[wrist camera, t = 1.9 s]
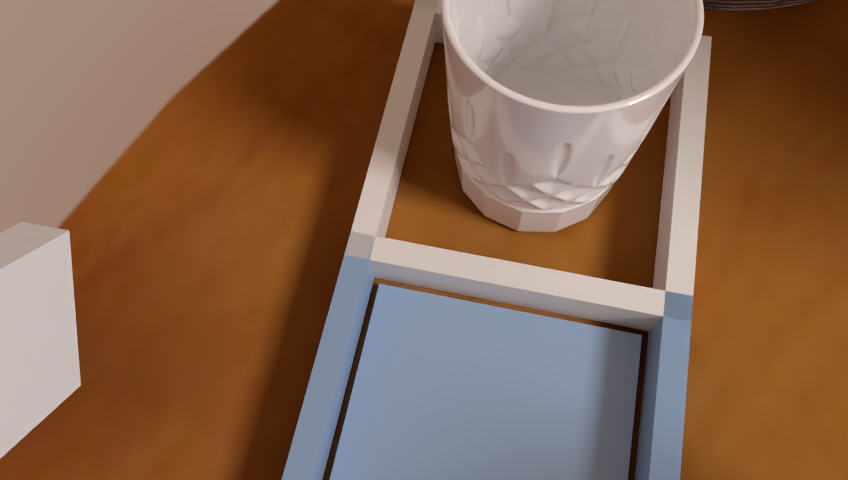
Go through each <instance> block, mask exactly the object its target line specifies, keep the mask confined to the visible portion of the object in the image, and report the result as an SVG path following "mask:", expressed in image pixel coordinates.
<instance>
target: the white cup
mask: <svg viewBox="0 0 848 480" xmlns="http://www.w3.org/2000/svg"><path fill="white" fill-rule="evenodd" d="M441 11H442V24H443V37H444V51H445V66H446V82H447V97H448V108H449V116H450V124H451V133H452V140H453V145H454V147H455V161H456V165H457V169H458V173H459V178H460V182H461V186H462V190H463V192H464V193H465V194H466V195H467V196H468V197H469V199H470V200H471V201H472V202H473V203H474V204H475V206H476V207H477V208H478V209H479V210H480V211H481V212H482V214H483V215H484V216H485V217H487V218H490V219H492V220H494V221H496V222H498V223H500V224H503V225H505V226H507V227H509V228H511V229H513V230H516V231H522V232H556V231H558V230H561V229H563V228H565V227H568V226H570V225H573V224H575V223H577V222H580V221H582V220H584V219H587V218H588V217H589V215H590V214H591V213H592V212H593V211H594V209H595V208H596V207H597V206H598V205H599V204H600V202H601V201H602V200H603V199H604V198H605V196H606V195H607V194H608V193H609V191H610V189H611V188H612V186H613V184H614V182H615V181H616V180H618V178H619V177H620V176H621V174H622V173H623V171H624V170H625V168H626V167H627V165H628V163H629V162H630V160H631V159H632V157H633V155H634V154H635V152H636V151H637V149H638V148H639V146H640V145H641V143H642V141H643V140H644V139H645V137H646V136H647V134H648V132H649V131H650V129H651V127H652V126H653V124H654V122H655V120H656V119H657V117H658V115H659V114H660V112H661V110H662V109H663V107H664V105H665V103H666V102H667V100H668V98H669V97H670V95H671V93H672V91H673V90H674V88H675V86H676V85H677V83H678V81H679V80H680V78H681V76H682V75H683V73H684V71H685V70H686V68H687V66H688V65H689V63H690V61H691V60H692V58H693V56H694V54H695V52H696V50H697V48H698V46H699V43H700V40H701V36H702V32H703V25H704V6H703V0H441Z"/></svg>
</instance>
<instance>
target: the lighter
mask: <svg viewBox="0 0 848 480" xmlns="http://www.w3.org/2000/svg"><path fill="white" fill-rule="evenodd" d="M811 1H815V0H703V6H704V9H715V10H731V11H734V10H764V9H772V8H779V7H786V6H793V5H799V4H803V3H807V2H811Z"/></svg>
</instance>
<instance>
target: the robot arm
mask: <svg viewBox="0 0 848 480" xmlns="http://www.w3.org/2000/svg"><path fill="white" fill-rule="evenodd" d="M80 386H81V381H80V368H79V355H78V341H77V328H76V315H75V301H74V288H73V275H72V261H71V248H70V235H69V230H64V229H58V228H53V227H47V226H42V225H37V224H31V223H26V222H20V223H19V224H16V225H14V226H12V227H10V228H8V229H6V230H4V231H2V232H0V458H1V457H3V456H4V455H5V454H6V453H7V452H8V451H9V450H10V449H11V448H12V447H14V446H15V445H16V444H17V443H18V442H19V441H20V440H21V439H22V438H23V437H25V436H26V435H27V434H28V433H29V432H30V431H31V430H32V429H33V428H34V427H36V426H37V425H38V424H39V423H40V422H41V421H42V420H43V419H44V418H45V417H47V416H48V415H49V414H50V413H51V412H52V411H53V410H54V409H55V408H56V407H58V406H59V405H60V404H61V403H62V402H63V401H64V400H65V399H66V398H67V397H69V396H70V395H71V394H72V393H73V392H74V391H75V390H76V389H77V388H78V387H80Z"/></svg>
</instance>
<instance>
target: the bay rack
mask: <svg viewBox="0 0 848 480" xmlns="http://www.w3.org/2000/svg"><path fill="white" fill-rule="evenodd" d="M711 41H712V37H711V36H704V35H702V36H701V40H700V43H699V46H698V48H697V50H696V52H695V54H694V56H693V58H692V60H691V61H690V63H689V65H688V66H687V68H686V70H685V71H684V73H683V75H682V76H681V78H680V80H679V81H678V83H677V85H676V86H675V88H674V90H673V91H672V93H671V102H670V113H669V123H668V134H667V144H666V155H665V165H664V176H663V186H662V196H661V207H660V217H659V228H658V238H657V249H656V259H655V270H654V280H653V288H648V287H643V286H637V285H632V284H627V283H621V282H616V281H611V280H606V279H600V278H595V277H590V276H584V275H579V274H574V273H568V272H563V271H558V270H553V269H547V268H542V267H537V266H531V265H526V264H521V263H516V262H510V261H505V260H500V259H494V258H489V257H484V256H479V255H473V254H468V253H463V252H457V251H452V250H447V249H442V248H436V247H431V246H426V245H420V244H415V243H410V242H405V241H399V240H394V239H389V238H385V235H386V231H387V227H388V223H389V220H390V216H391V212H392V208H393V204H394V200H395V196H396V192H397V189H398V185H399V181H400V177H401V173H402V169H403V165H404V161H405V157H406V154H407V150H408V146H409V142H410V138H411V134H412V130H413V126H414V122H415V119H416V115H417V111H418V107H419V103H420V99H421V95H422V91H423V88H424V84H425V80H426V76H427V72H428V68H429V64H430V60H431V56H432V53H433V49H434V45H435V42H436V43H442V44H444V37H443V24H442V11H441V0H415V3H414V7H413V10H412V14H411V17H410V21H409V24H408V28H407V32H406V35H405V39H404V42H403V46H402V50H401V53H400V57H399V60H398V64H397V68H396V71H395V75H394V78H393V82H392V85H391V89H390V93H389V96H388V100H387V103H386V107H385V111H384V114H383V118H382V121H381V125H380V129H379V132H378V136H377V139H376V143H375V146H374V150H373V154H372V157H371V161H370V164H369V168H368V172H367V175H366V179H365V182H364V186H363V190H362V193H361V197H360V200H359V204H358V207H357V211H356V215H355V218H354V222H353V225H352V229H351V233H350V236H349V240H348V243H347V247H346V250H345V254H344V258H343V261H342V265H341V268H340V272H339V276H338V279H337V283H336V286H335V290H334V294H333V297H332V301H331V304H330V308H329V311H328V315H327V319H326V322H325V326H324V329H323V333H322V337H321V340H320V344H319V347H318V351H317V355H316V358H315V362H314V365H313V369H312V372H311V376H310V380H309V383H308V387H307V390H306V394H305V398H304V401H303V405H302V408H301V412H300V416H299V419H298V423H297V426H296V430H295V433H294V437H293V441H292V444H291V448H290V451H289V455H288V459H287V462H286V466H285V469H284V473H283V477H282V480H323V476H324V472H325V468H326V464H327V460H328V456H329V453H330V449H331V445H332V441H333V437H334V433H335V429H336V425H337V422H338V418H339V414H340V410H341V406H342V402H343V398H344V394H345V390H346V387H347V383H348V379H349V375H350V371H351V367H352V363H353V359H354V356H355V352H356V348H357V344H358V340H359V336H360V332H361V328H362V324H363V321H364V317H365V313H366V309H367V305H368V301H369V297H370V293H371V289H372V286H373V282H374V278H378V279H383V280H388V281H393V282H399V283H404V284H409V285H414V286H419V287H424V288H429V289H434V290H439V291H445V292H450V293H455V294H460V295H465V296H470V297H475V298H480V299H485V300H491V301H496V302H501V303H506V304H511V305H516V306H521V307H526V308H532V309H537V310H542V311H547V312H552V313H557V314H562V315H567V316H572V317H578V318H583V319H588V320H593V321H598V322H603V323H608V324H613V325H618V326H624V327H629V328H634V329H639V330H644V331H649V333H648V343H647V353H646V364H645V374H644V385H643V395H642V406H641V416H640V427H639V437H638V448H637V458H636V469H635V479H634V480H680V472H681V458H682V444H683V430H684V417H685V403H686V389H687V375H688V361H689V347H690V333H691V319H692V305H693V291H694V277H695V264H696V250H697V236H698V222H699V208H700V194H701V180H702V166H703V152H704V138H705V124H706V111H707V97H708V83H709V69H710V55H711ZM641 341H642V335H639V334H634V333H629V332H623V331H618V330H613V329H608V328H603V327H598V326H593V325H588V324H583V323H578V322H572V321H567V320H562V319H557V318H552V317H547V316H542V315H537V314H532V313H527V312H522V311H516V310H511V309H506V308H501V307H496V306H491V305H486V304H481V303H476V302H471V301H466V300H460V299H455V298H450V297H445V296H440V295H435V294H430V293H425V292H420V291H415V290H410V289H404V288H399V287H394V286H389V285H384V284H379V287H378V291H377V295H376V299H375V303H374V306H373V310H372V314H371V318H370V322H369V326H368V330H367V334H366V338H365V342H364V346H363V350H362V354H361V358H360V362H359V366H358V370H357V373H356V377H355V381H354V385H353V389H352V393H351V397H350V401H349V405H348V409H347V413H346V417H345V421H344V425H343V429H342V433H341V436H340V440H339V444H338V448H337V452H336V456H335V460H334V464H333V468H332V472H331V476H330V480H628V472H629V462H630V452H631V442H632V432H633V422H634V412H635V402H636V392H637V381H638V371H639V361H640V351H641Z"/></svg>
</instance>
